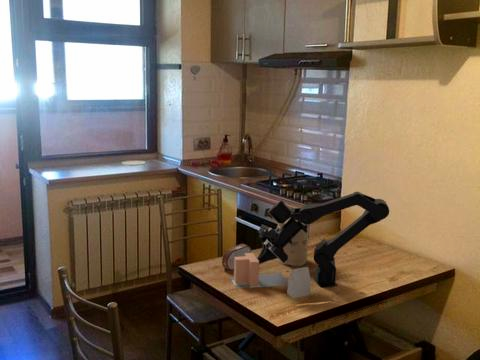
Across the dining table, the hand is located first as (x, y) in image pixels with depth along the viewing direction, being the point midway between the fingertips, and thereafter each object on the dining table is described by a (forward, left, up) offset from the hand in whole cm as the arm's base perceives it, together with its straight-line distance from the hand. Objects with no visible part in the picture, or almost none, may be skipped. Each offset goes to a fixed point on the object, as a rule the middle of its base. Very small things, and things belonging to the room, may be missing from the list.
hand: (256, 263), depth 184 cm
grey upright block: (-11, +14, -7) cm, 19 cm away
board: (-1, 0, -7) cm, 7 cm away
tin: (+3, -16, -8) cm, 18 cm away
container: (-20, -18, -7) cm, 28 cm away
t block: (+4, 0, -7) cm, 8 cm away
